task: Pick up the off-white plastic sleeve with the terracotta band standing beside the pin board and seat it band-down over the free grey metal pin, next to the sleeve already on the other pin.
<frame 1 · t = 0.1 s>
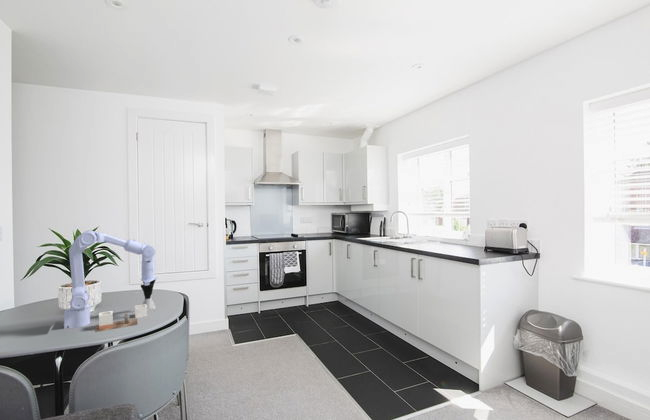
hand: (148, 296, 163), 10 cm above the table, tool pointing down, fingers open, 7 cm apart
sleeve: (141, 318, 160), on the table
flask: (148, 310, 173), on the table
seated sleeve: (106, 326, 146), point 1 cm above the table, touching pin board
pin board: (116, 328, 148), on the table
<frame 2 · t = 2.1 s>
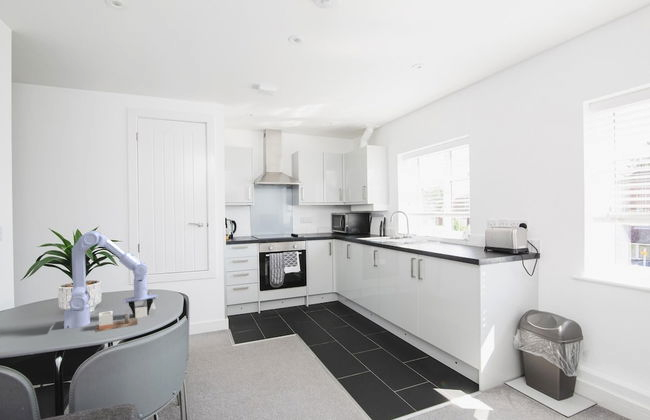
hand: (141, 315, 160), 1 cm above the table, tool pointing down, fingers closed on sleeve, 5 cm apart
sleeve: (141, 318, 160), on the table, touching gripper
everything else where it was.
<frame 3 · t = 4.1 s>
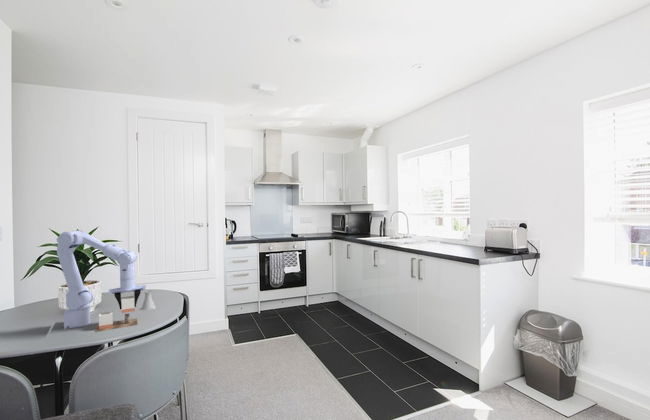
hand: (127, 307, 151), 8 cm above the table, tool pointing down, fingers closed on sleeve, 5 cm apart
sleeve: (128, 310, 151), point 7 cm above the table, touching gripper
everything else where it was.
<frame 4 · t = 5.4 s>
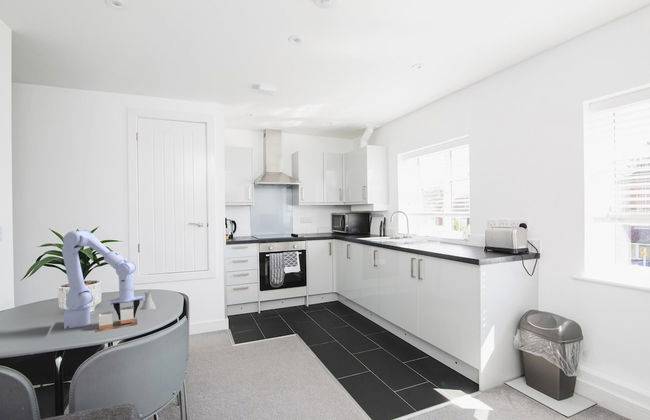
hand: (127, 318, 150), 4 cm above the table, tool pointing down, fingers closed on sleeve, 5 cm apart
sleeve: (127, 321, 150), point 2 cm above the table, touching gripper
everything else where it was.
when the fingers open (4 cm above the table, at t = 6.2 s): sleeve stays where it is, resting on pin board.
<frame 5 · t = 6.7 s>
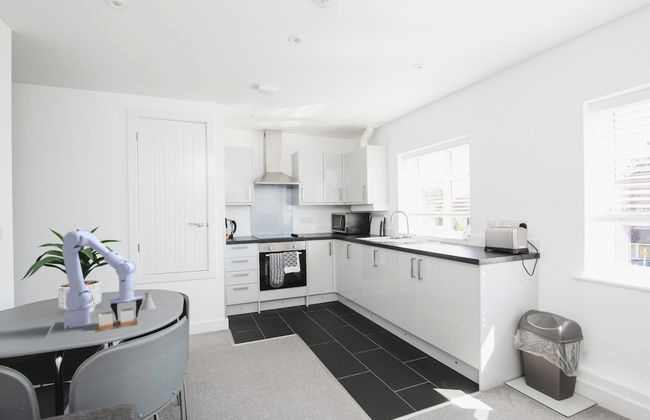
hand: (127, 318, 150), 4 cm above the table, tool pointing down, fingers open, 7 cm apart
sleeve: (127, 323, 150), point 1 cm above the table, touching pin board
everything else where it was.
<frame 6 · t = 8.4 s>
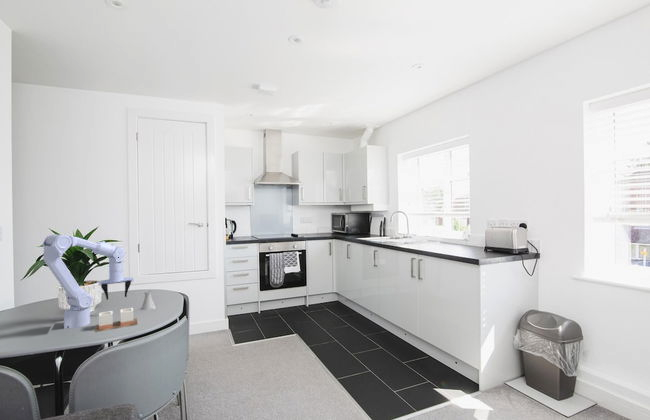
hand: (116, 297, 163), 9 cm above the table, tool pointing down, fingers open, 7 cm apart
nothing on the table moved.
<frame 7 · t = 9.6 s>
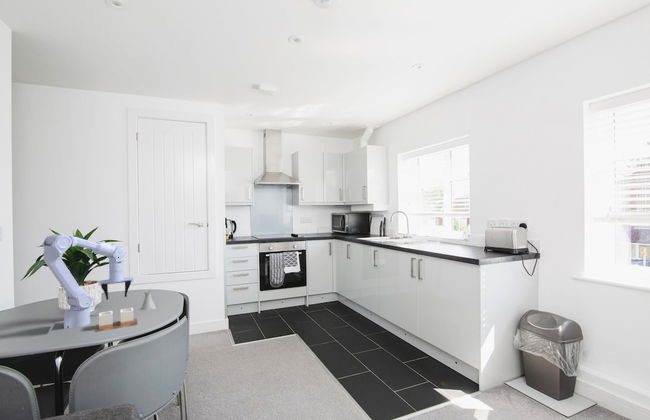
hand: (116, 297, 163), 9 cm above the table, tool pointing down, fingers open, 7 cm apart
nothing on the table moved.
at the end: sleeve 0.0 cm from the target spot on the pin board, point 1.5 cm above the pin board's base; sleeve tilted 0°; the gripper is holding nothing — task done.
